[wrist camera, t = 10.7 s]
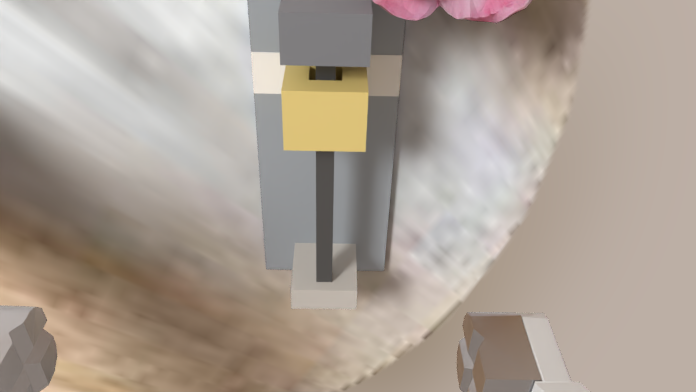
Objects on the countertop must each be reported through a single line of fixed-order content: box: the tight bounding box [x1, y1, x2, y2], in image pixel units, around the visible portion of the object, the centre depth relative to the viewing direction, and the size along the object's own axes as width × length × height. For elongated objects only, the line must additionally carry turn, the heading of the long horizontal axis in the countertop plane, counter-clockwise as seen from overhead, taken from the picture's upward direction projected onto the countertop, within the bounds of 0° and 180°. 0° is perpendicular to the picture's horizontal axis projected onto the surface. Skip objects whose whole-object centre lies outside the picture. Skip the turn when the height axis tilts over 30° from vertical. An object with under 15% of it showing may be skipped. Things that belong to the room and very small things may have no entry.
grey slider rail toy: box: [247, 0, 405, 309], centre depth 42 cm, size 10×25×7 cm, turn 178°
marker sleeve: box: [281, 65, 369, 152], centre depth 38 cm, size 5×4×5 cm
